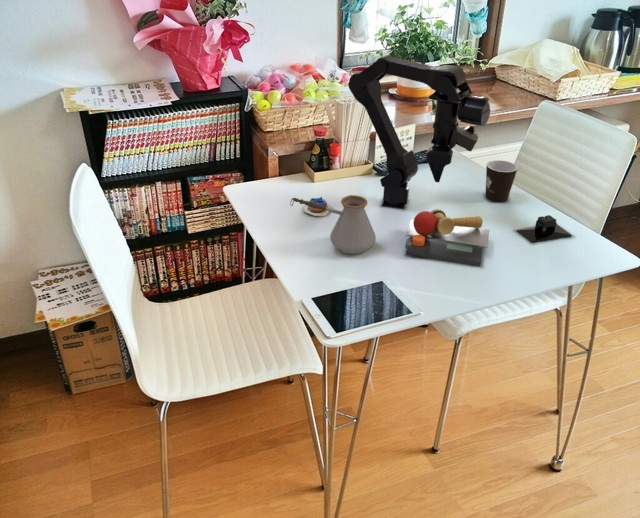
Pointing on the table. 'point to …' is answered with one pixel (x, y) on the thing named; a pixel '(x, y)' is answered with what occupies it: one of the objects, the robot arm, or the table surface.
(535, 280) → the table surface
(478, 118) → the robot arm
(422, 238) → the button
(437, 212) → the kendama
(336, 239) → the coffee pot
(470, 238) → the pan
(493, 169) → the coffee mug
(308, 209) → the dessert
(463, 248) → the scale display
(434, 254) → the scale
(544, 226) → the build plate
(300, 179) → the table surface
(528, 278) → the table surface
